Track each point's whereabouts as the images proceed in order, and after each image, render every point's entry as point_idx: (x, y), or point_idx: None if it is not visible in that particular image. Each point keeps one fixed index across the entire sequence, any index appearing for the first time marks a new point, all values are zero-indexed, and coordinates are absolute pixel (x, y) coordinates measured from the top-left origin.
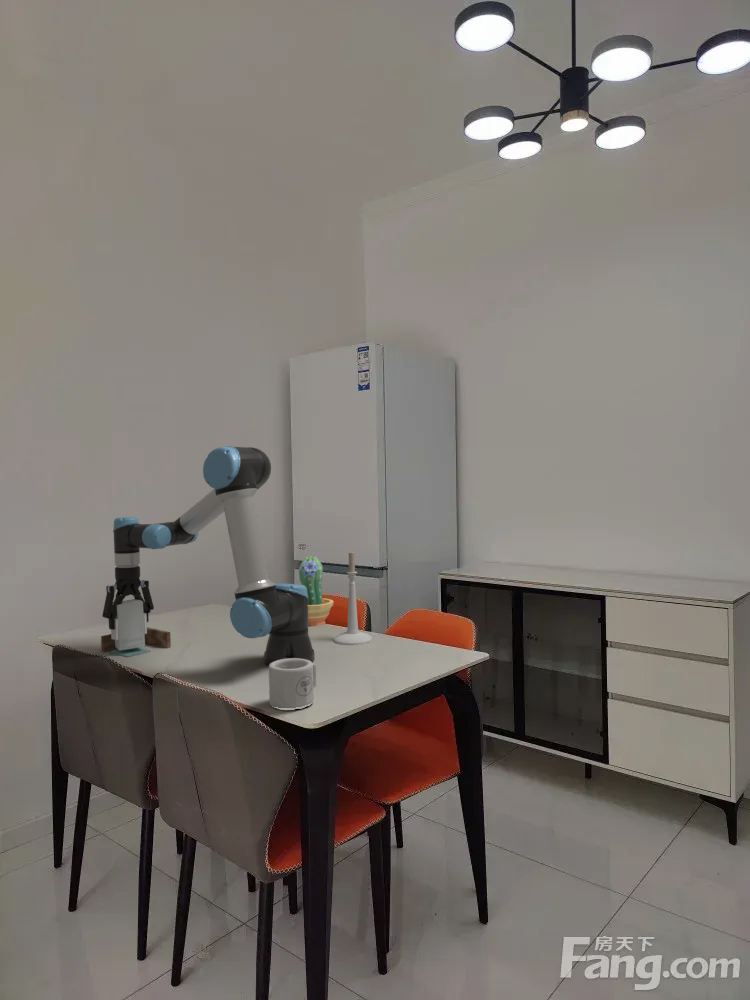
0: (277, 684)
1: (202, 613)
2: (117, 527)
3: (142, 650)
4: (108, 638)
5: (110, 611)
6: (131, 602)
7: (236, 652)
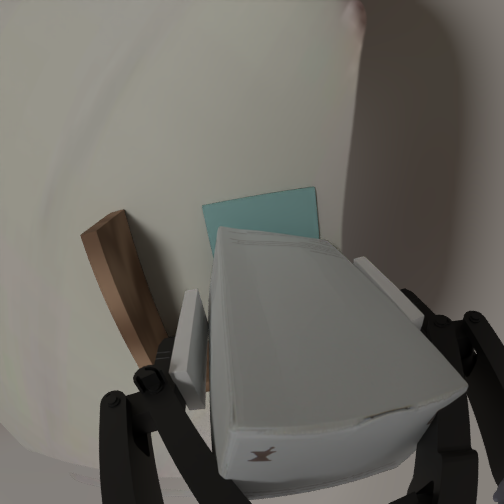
0: None
1: (30, 431)
2: None
3: None
4: None
5: (482, 342)
6: (363, 434)
7: (16, 18)
